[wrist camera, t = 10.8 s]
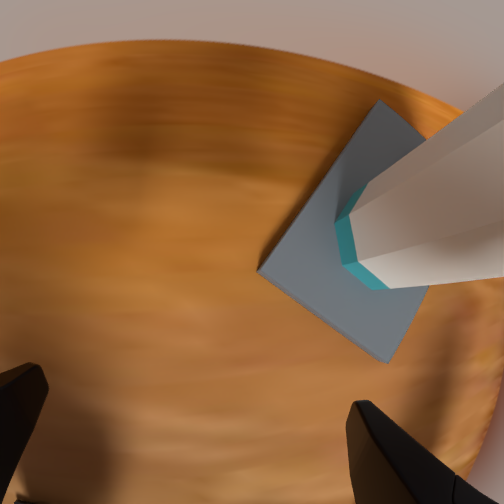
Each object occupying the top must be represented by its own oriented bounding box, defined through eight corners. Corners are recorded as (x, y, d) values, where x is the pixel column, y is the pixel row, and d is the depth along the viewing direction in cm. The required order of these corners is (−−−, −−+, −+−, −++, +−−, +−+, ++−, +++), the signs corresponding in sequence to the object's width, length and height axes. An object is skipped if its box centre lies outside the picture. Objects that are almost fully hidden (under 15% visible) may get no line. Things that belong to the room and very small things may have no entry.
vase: (422, 278, 18) (599, 247, 5) (346, 295, 17) (559, 276, 4) (405, 190, 19) (555, 102, 6) (328, 194, 18) (487, 58, 5)
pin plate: (378, 360, 18) (416, 372, 14) (256, 271, 18) (271, 263, 14) (458, 187, 21) (491, 171, 17) (372, 106, 21) (398, 77, 17)
